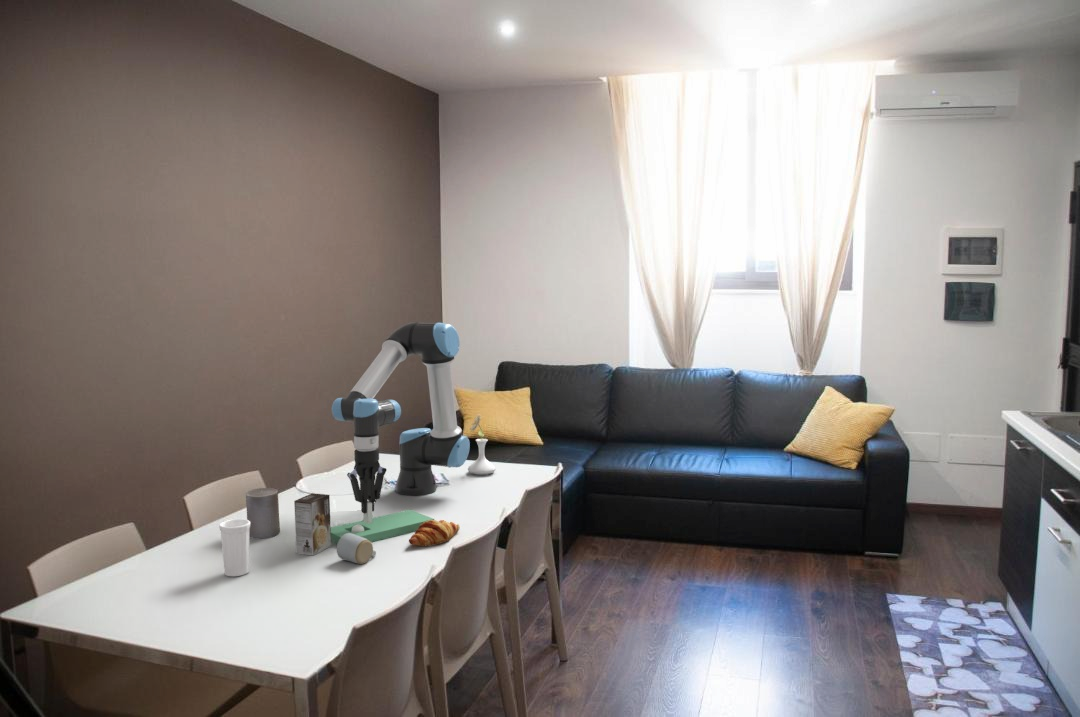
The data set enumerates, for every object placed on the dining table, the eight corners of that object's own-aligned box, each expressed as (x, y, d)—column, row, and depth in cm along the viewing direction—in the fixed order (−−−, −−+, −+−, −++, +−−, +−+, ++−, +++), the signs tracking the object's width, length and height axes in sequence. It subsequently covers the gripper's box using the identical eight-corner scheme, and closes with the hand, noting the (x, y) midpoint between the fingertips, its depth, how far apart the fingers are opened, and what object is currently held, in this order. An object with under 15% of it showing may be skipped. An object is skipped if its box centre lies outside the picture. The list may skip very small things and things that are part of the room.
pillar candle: (267, 527, 276) (264, 482, 274) (286, 532, 270) (284, 486, 269) (241, 535, 268) (238, 489, 266) (260, 541, 263) (258, 493, 261)
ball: (359, 521, 269) (348, 525, 266) (365, 524, 266) (354, 528, 263) (361, 533, 269) (350, 537, 267) (367, 536, 267) (356, 540, 264)
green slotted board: (410, 516, 288) (410, 509, 288) (434, 526, 277) (434, 519, 277) (323, 536, 267) (323, 529, 266) (346, 548, 256) (345, 540, 256)
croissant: (451, 540, 274) (443, 517, 276) (473, 531, 269) (464, 507, 270) (404, 557, 257) (395, 532, 259) (425, 548, 252) (416, 522, 253)
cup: (222, 580, 230) (220, 529, 228) (220, 570, 237) (218, 520, 236) (253, 576, 233) (251, 525, 232) (251, 566, 241) (249, 517, 239)
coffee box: (313, 543, 260) (312, 492, 258) (331, 546, 258) (330, 494, 256) (295, 553, 252) (293, 500, 250) (313, 556, 249) (312, 502, 248)
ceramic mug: (356, 568, 240) (356, 541, 239) (336, 562, 244) (335, 536, 243) (383, 557, 249) (383, 532, 248) (362, 552, 253) (362, 527, 252)
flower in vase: (471, 469, 354) (470, 409, 351) (498, 470, 352) (497, 410, 349) (463, 477, 341) (463, 415, 338) (491, 478, 339) (491, 416, 336)
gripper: (354, 453, 259) (355, 529, 262) (391, 447, 268) (392, 520, 270) (341, 449, 265) (343, 523, 267) (378, 443, 273) (379, 515, 276)
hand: (368, 522), depth 269 cm, fingers closed
